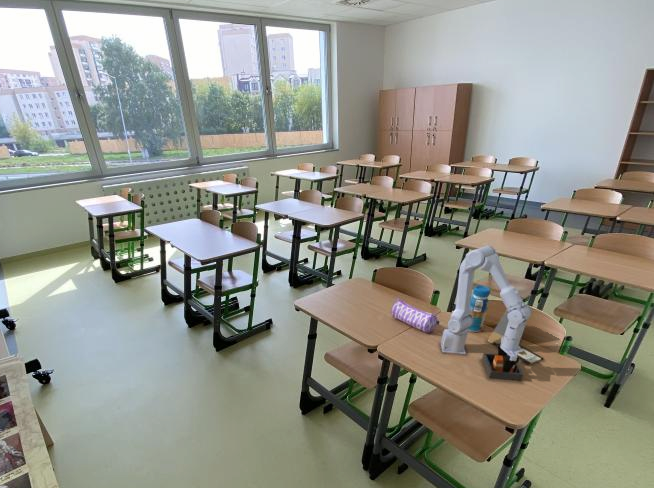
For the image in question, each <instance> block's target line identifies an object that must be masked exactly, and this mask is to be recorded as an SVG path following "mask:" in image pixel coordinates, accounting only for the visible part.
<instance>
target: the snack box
mask: <svg viewBox="0 0 654 488" xmlns="http://www.w3.org/2000/svg"><path fill="white" fill-rule="evenodd" d="M514 367H515V365H514V366H513V367H512V368H511V370H510V371H509V372H511V373H512V372H513V369H514ZM492 369H493V371H500V372H502V369H503V357H502V356H498V355H495V357H494V360H493V364H492Z"/></svg>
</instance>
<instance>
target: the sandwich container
mask: <svg viewBox="0 0 654 488" xmlns="http://www.w3.org/2000/svg"><path fill="white" fill-rule="evenodd" d="M508 313H509V312H508V310H507V309H506V310H505V312H504V313H503V315H502V317H501V318H500V320H499V321H498V323H497V325H496V326H495V328H494V330H493V331H492V333H491V334H490V336H489V338H488V339H487V341H486V343H490V344H492V345H493V343H494V342H495V343H497V344H498V343H501V339H502V337H504V334H505V331H506V328H507V325H508V322H509V320H508Z"/></svg>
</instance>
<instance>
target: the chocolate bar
mask: <svg viewBox="0 0 654 488" xmlns="http://www.w3.org/2000/svg"><path fill="white" fill-rule="evenodd" d="M492 345H493V346H496V347H497V343H495V342H494V343H493V344H492ZM519 346H520V348H521V350H518V351H517V358H519V361H521V362H523V363H524V364H526V365H530V364H533V363H537V362H538V361H542V360H544V357H543V356H541V355H539V354H537V353H536V352H534V351H532V350H530V349H528V348H527V347H524V346H523V345H521V344H519Z"/></svg>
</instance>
